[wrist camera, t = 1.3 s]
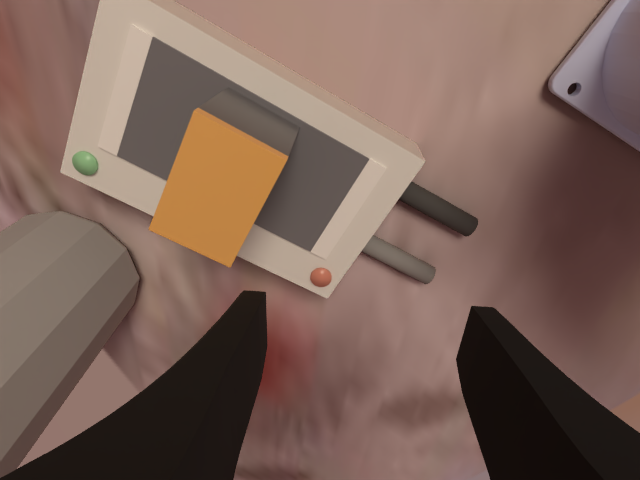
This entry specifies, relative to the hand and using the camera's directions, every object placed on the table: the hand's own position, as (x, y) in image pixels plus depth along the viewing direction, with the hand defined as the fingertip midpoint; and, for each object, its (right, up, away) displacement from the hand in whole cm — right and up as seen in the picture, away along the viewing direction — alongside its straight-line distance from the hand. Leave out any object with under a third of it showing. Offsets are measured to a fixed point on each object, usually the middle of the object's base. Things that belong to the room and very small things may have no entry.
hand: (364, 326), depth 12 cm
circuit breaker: (-5, +7, +7) cm, 11 cm away
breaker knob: (-4, +6, +5) cm, 9 cm away
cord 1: (+2, +2, +10) cm, 10 cm away
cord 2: (+4, +4, +8) cm, 10 cm away
